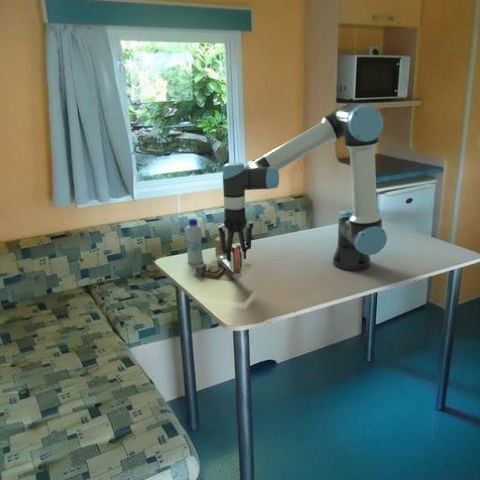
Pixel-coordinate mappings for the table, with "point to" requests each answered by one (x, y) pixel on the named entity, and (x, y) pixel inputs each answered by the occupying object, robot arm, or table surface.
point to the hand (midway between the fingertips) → (236, 268)
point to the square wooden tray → (222, 274)
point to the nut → (213, 268)
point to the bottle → (194, 242)
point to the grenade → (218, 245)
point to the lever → (236, 260)
